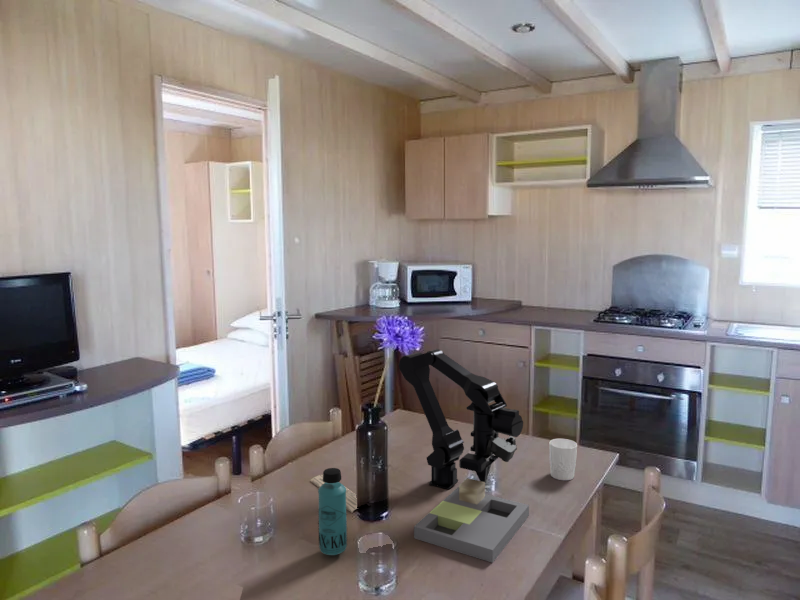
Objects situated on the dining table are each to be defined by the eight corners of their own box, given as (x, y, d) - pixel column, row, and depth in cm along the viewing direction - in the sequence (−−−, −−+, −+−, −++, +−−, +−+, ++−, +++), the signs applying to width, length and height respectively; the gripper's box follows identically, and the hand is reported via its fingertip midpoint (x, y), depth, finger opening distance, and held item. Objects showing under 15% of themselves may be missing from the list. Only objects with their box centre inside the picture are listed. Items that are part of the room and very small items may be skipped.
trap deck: (414, 538, 140) (413, 526, 140) (457, 497, 161) (457, 487, 160) (492, 562, 130) (492, 550, 130) (528, 516, 150) (529, 504, 150)
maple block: (459, 499, 153) (459, 485, 152) (467, 492, 157) (467, 478, 157) (477, 504, 150) (477, 489, 150) (484, 496, 154) (484, 482, 154)
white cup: (577, 482, 169) (578, 449, 168) (549, 480, 171) (549, 447, 169) (574, 471, 177) (575, 439, 175) (547, 469, 178) (548, 437, 177)
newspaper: (310, 483, 172) (310, 477, 171) (331, 477, 176) (331, 471, 176) (352, 515, 153) (352, 509, 152) (375, 507, 157) (374, 501, 157)
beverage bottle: (319, 546, 137) (317, 464, 134) (348, 545, 137) (346, 463, 135) (318, 562, 130) (315, 477, 128) (348, 561, 131) (346, 475, 128)
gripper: (499, 445, 146) (498, 504, 148) (524, 422, 162) (523, 476, 164) (458, 436, 151) (458, 494, 154) (487, 416, 167) (486, 468, 169)
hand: (483, 483), depth 160 cm, fingers closed
